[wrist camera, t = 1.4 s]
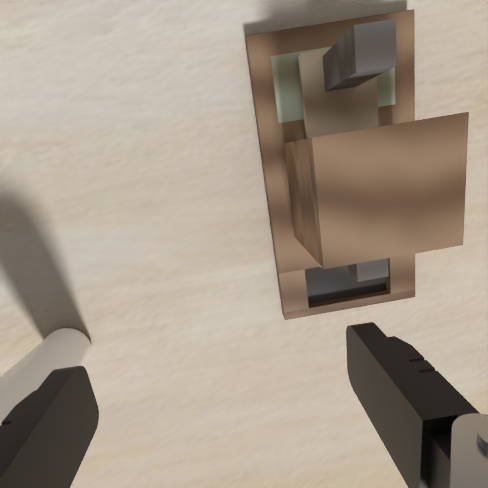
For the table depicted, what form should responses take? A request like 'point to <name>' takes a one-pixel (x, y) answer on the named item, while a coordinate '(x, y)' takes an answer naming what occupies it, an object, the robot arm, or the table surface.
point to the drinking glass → (42, 366)
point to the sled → (348, 95)
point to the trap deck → (353, 177)
